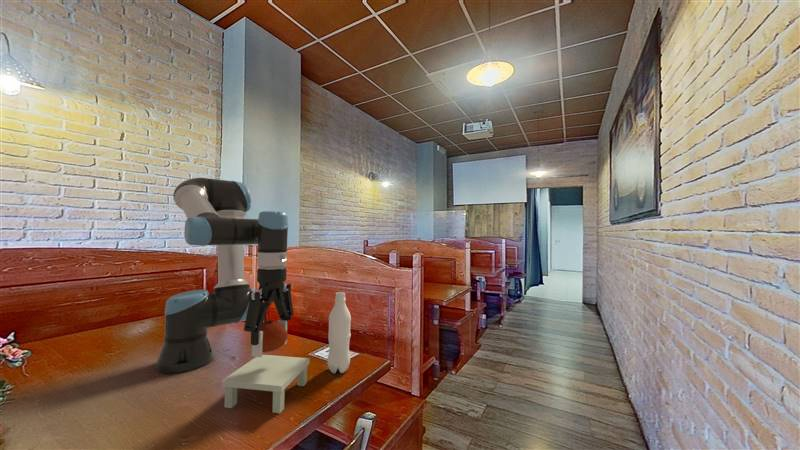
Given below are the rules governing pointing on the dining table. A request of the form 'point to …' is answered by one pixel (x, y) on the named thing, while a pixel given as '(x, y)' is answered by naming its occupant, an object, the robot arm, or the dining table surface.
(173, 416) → the dining table surface
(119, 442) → the dining table surface
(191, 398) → the dining table surface
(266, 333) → the fruit
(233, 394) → the small white table
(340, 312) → the water bottle
